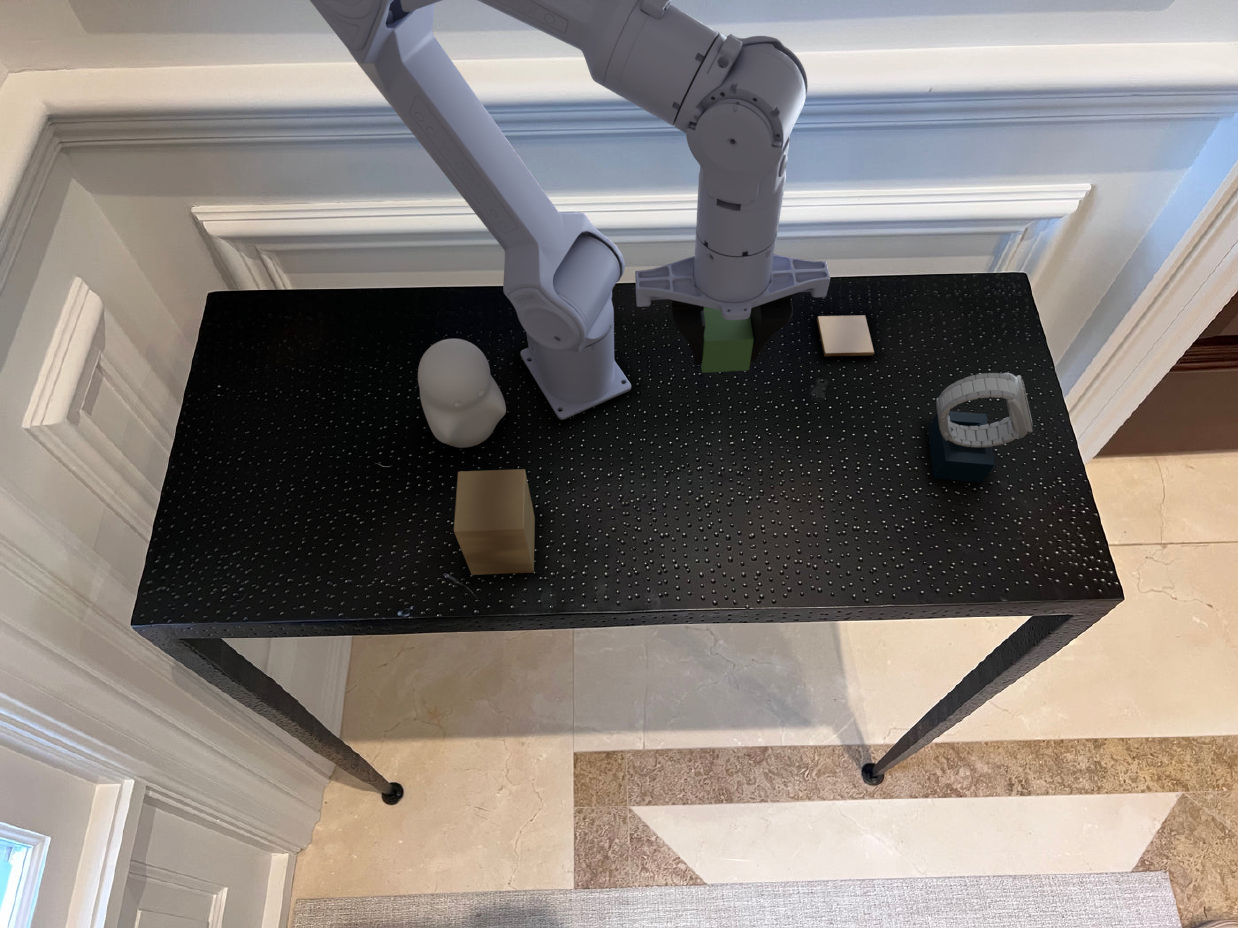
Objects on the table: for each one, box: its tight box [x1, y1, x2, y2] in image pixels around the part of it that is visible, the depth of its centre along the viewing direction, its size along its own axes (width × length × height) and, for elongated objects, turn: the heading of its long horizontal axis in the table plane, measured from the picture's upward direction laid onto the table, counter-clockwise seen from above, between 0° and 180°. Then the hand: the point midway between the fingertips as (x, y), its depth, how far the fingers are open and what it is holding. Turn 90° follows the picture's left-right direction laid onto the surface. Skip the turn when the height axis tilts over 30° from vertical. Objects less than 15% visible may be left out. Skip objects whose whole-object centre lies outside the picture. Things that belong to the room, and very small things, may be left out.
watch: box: [927, 372, 1034, 483], centre depth 69 cm, size 6×8×11 cm
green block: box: [700, 307, 754, 374], centre depth 66 cm, size 4×4×4 cm
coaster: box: [816, 314, 875, 357], centre depth 81 cm, size 5×5×1 cm
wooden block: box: [453, 468, 536, 576], centre depth 66 cm, size 5×5×8 cm
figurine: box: [417, 338, 507, 449], centre depth 71 cm, size 7×8×12 cm
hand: (723, 354), depth 67 cm, fingers closed on green block, 4 cm apart
